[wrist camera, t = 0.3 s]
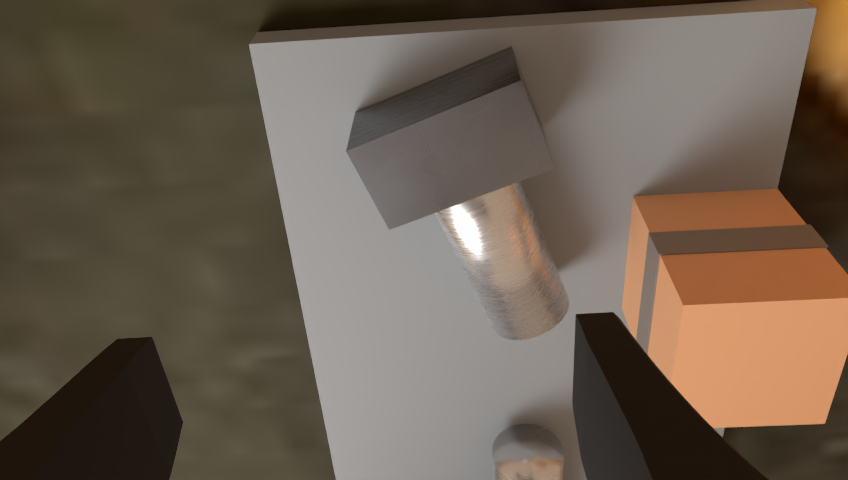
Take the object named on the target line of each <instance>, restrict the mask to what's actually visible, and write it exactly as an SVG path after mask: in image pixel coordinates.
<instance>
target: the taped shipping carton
mask: <svg viewBox="0 0 848 480" xmlns="http://www.w3.org/2000/svg"><path fill="white" fill-rule="evenodd" d="M827 248H828V245H827V244H826V243H825V241H824V240H823V239H822V238H821V237H820V235H819V234H818V233H817V232H816V231H815V229H814V228H813V227H812V226H811V224H810V225H807V224H806V223H805V222H804V221H803V219H802V218H801V217H800V216H799V214H798V213H797V212H796V211H795V210H794V208H793V207H792V206H791V205H790V203H789V202H788V201H787V200H786V199H785V197H784V196H783V195H782V194H781V192H780V191H779V190H778V189H762V190H743V191H723V192H704V193H685V194H665V195H646V196H633V200H632V210H631V220H630V230H629V240H628V250H627V260H626V270H625V281H624V291H623V301H622V310H623V313H624V316H625V319H626V322H627V325H628V327H629V330H630V333H631V334H632V336H633V337H634V338H635V340H636V341H637V342H638V343H639V345H640V346H641V347H642V349H643V350H644V351H645V352H646V354H647V355H648V356H649V357H650V358H651V360H652V361H653V362H654V363H655V365H656V366H657V367H658V368H659V369H660V371H661V372H662V373H663V374H664V375H665V376H666V378H667V379H668V380H669V381H670V382H671V383H672V384H673V386H674V387H675V388H676V389H677V390H678V391H679V392H680V393H681V395H682V396H683V397H684V398H685V399H686V400H687V401H688V402H689V403H690V405H691V406H692V407H693V408H694V409H695V410H696V411H697V412H698V413H699V414H700V415H701V416H702V417H703V418H704V419H705V420H706V421H707V422H708V423H709V424H710V425H711V426H712V427H713V428H724V427H752V426H779V425H806V424H825V422H826V419H827V416H828V413H829V409H830V406H831V403H832V400H833V397H834V394H835V391H836V388H837V385H838V382H839V379H840V376H841V372H842V369H843V366H844V363H845V360H846V357H847V354H848V275H847V273H846V272H845V271H844V270H843V268H842V267H841V266H840V265H839V264H838V262H837V261H836V260H835V259H834V257H833V256H832V255H831V254H830V253H829V251H828V250H827Z"/></svg>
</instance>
